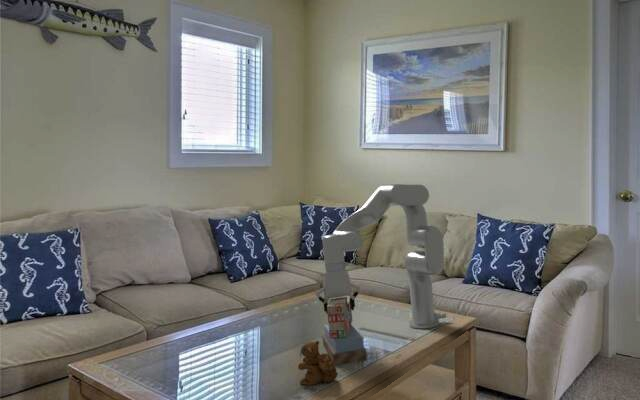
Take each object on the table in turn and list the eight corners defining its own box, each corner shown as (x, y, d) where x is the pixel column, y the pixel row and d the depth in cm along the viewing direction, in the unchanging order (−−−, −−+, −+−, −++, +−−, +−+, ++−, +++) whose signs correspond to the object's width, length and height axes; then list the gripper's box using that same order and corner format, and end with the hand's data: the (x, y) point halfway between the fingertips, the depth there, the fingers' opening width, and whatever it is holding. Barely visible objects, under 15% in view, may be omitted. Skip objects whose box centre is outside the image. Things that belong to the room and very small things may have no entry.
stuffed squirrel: (311, 373, 200) (307, 336, 199) (346, 377, 192) (342, 339, 191) (295, 383, 191) (290, 345, 191) (330, 389, 184) (326, 349, 183)
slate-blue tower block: (349, 332, 230) (348, 321, 230) (363, 349, 208) (362, 337, 207) (325, 336, 228) (324, 325, 228) (336, 353, 206) (335, 341, 206)
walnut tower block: (352, 342, 232) (351, 331, 231) (366, 361, 207) (365, 349, 207) (323, 346, 230) (322, 335, 230) (334, 366, 205) (333, 354, 205)
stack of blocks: (337, 321, 230) (334, 291, 229) (352, 320, 229) (349, 290, 228) (329, 338, 209) (326, 305, 208) (346, 337, 208) (343, 304, 207)
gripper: (354, 262, 222) (359, 305, 223) (311, 268, 219) (316, 312, 220) (359, 265, 214) (364, 310, 215) (314, 271, 211) (319, 317, 212)
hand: (339, 311), depth 218 cm, fingers open, 9 cm apart
